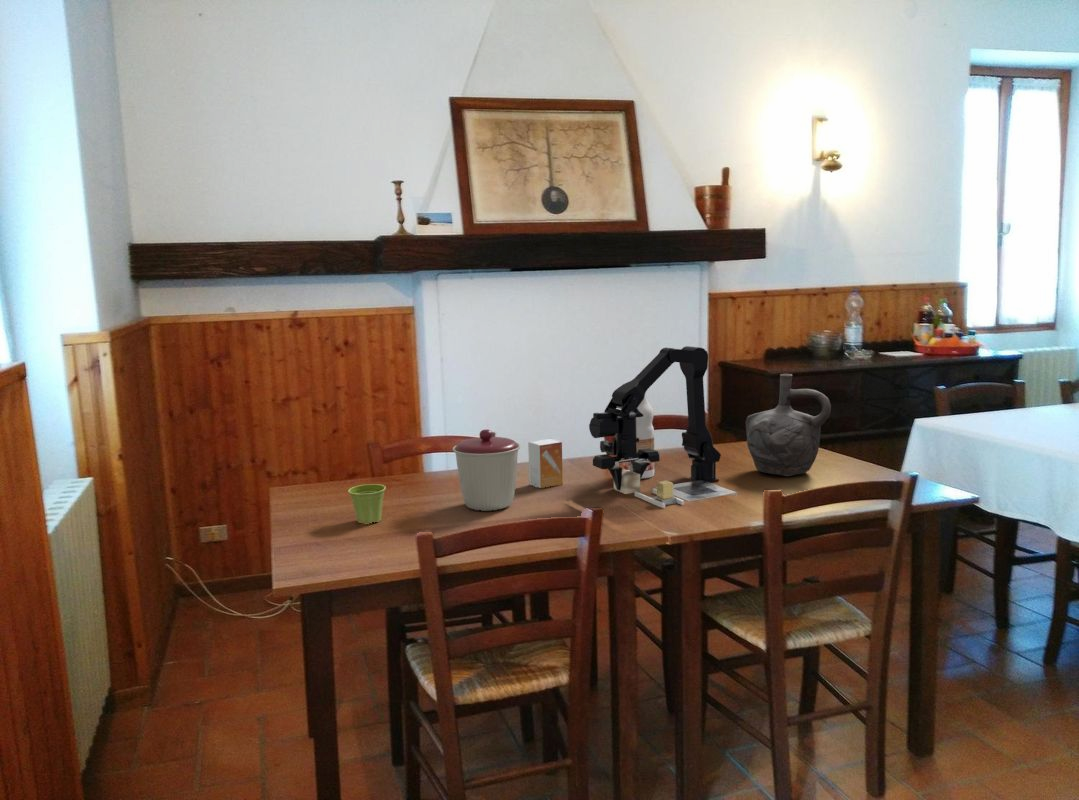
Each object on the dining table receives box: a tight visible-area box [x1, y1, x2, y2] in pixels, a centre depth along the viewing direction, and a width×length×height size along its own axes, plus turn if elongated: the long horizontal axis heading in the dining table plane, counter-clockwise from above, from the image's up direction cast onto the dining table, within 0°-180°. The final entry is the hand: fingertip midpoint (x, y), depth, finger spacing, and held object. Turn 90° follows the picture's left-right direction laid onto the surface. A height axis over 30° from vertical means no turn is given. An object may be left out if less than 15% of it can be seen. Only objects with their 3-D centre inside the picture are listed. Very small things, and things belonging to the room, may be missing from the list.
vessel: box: [745, 373, 832, 477], centre depth 246 cm, size 24×22×30 cm
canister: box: [452, 429, 521, 512], centre depth 221 cm, size 18×18×21 cm
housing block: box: [613, 470, 641, 495], centre depth 230 cm, size 5×6×6 cm
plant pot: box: [347, 483, 387, 524], centre depth 211 cm, size 9×9×9 cm
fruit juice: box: [622, 392, 655, 480], centre depth 249 cm, size 9×9×28 cm
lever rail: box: [634, 488, 685, 509], centre depth 220 cm, size 7×14×2 cm, turn 25°
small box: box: [527, 438, 564, 489], centre depth 242 cm, size 8×6×13 cm
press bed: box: [654, 480, 738, 502], centre depth 228 cm, size 16×16×1 cm
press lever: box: [653, 480, 677, 506], centre depth 216 cm, size 4×4×6 cm
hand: (626, 488), depth 230 cm, fingers closed on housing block, 5 cm apart
